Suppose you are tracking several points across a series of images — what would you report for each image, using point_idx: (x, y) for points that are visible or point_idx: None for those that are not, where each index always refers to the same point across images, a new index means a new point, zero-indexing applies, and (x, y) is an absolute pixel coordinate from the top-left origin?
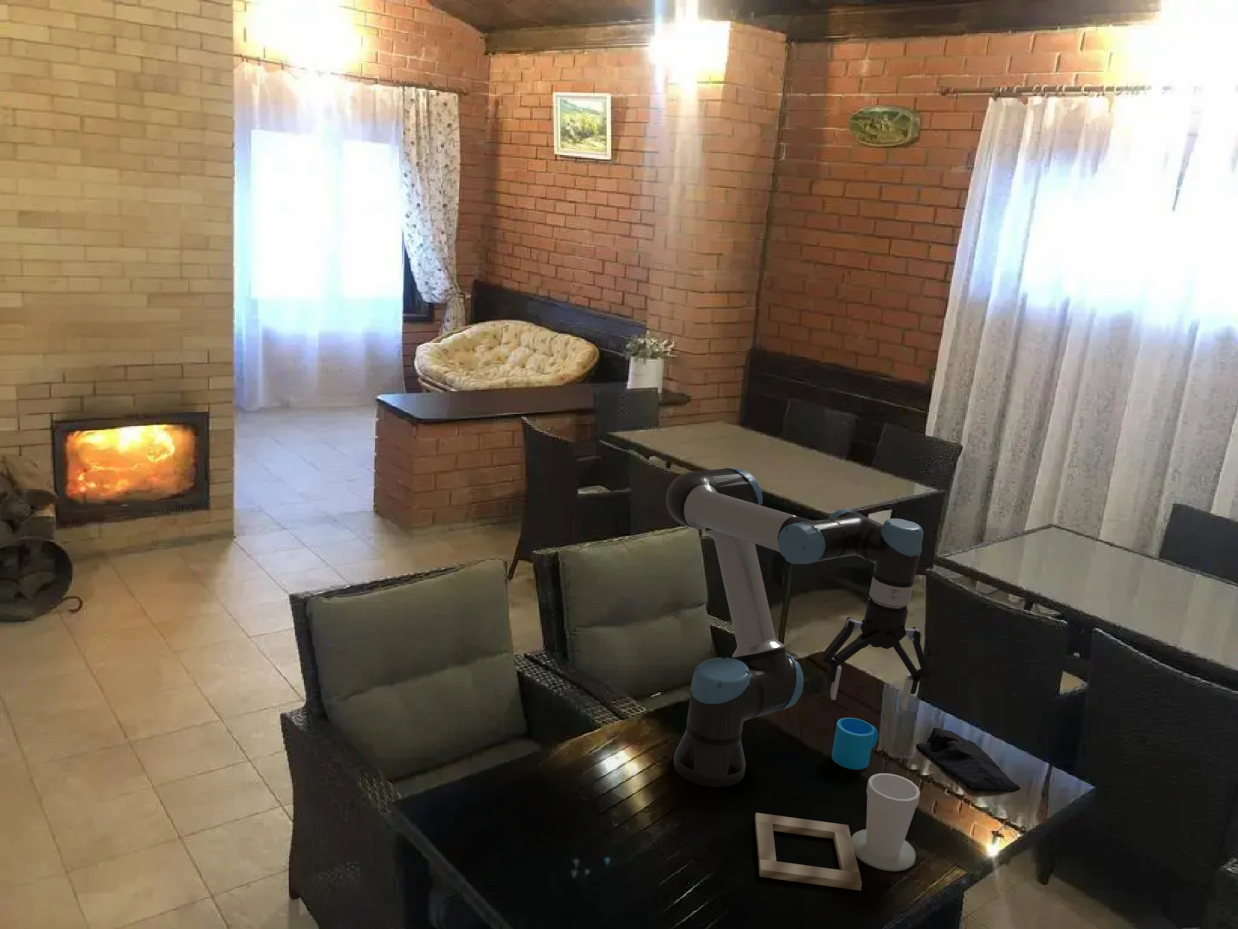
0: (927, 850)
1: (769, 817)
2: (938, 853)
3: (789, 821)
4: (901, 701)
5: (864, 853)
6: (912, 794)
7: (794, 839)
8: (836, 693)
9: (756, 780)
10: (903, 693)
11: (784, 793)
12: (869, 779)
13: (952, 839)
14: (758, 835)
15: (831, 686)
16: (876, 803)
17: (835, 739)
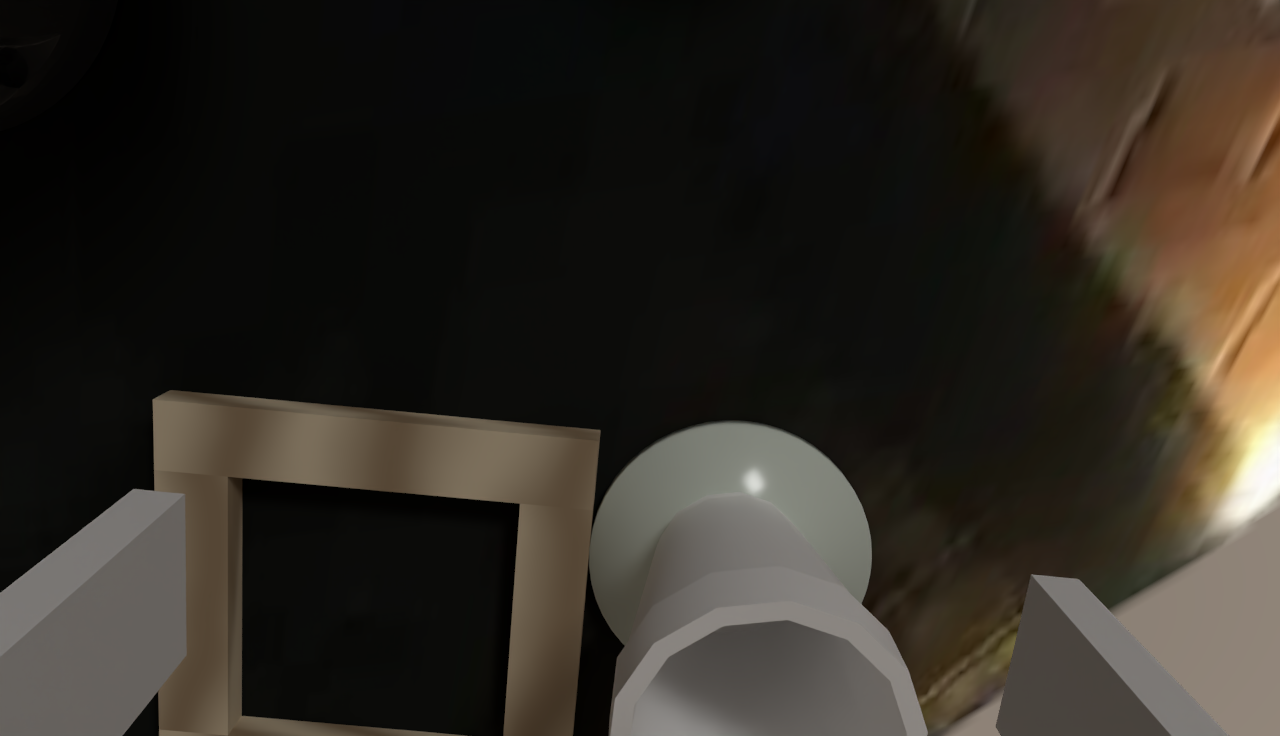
0: (944, 518)
1: (217, 429)
2: (988, 533)
3: (312, 450)
4: (1045, 632)
5: (632, 611)
6: (887, 702)
7: (344, 514)
8: (140, 706)
9: (193, 19)
10: (1100, 720)
11: (336, 131)
12: (625, 688)
13: (1103, 420)
14: None
15: (83, 529)
16: None
17: None
